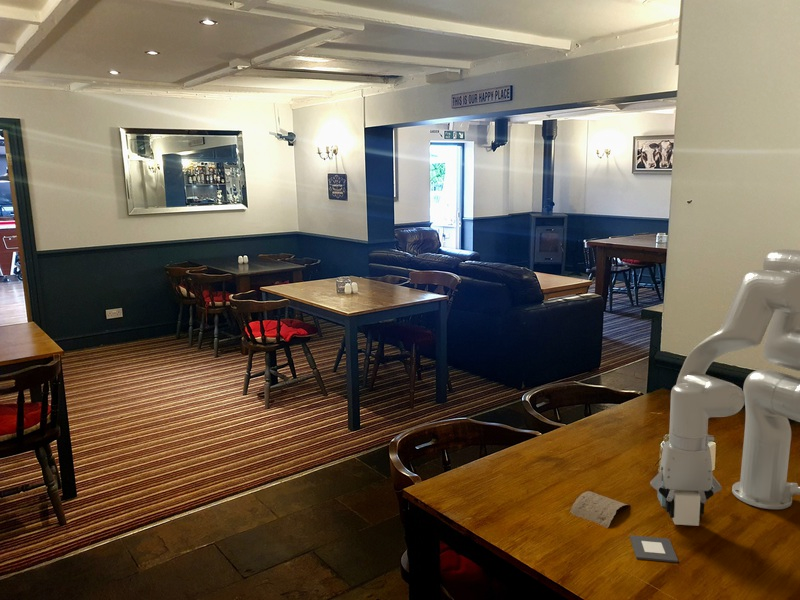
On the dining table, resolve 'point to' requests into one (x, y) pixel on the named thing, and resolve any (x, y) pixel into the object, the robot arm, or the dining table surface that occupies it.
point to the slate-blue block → (661, 496)
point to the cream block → (686, 507)
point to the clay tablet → (595, 508)
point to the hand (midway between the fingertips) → (684, 514)
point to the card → (653, 548)
